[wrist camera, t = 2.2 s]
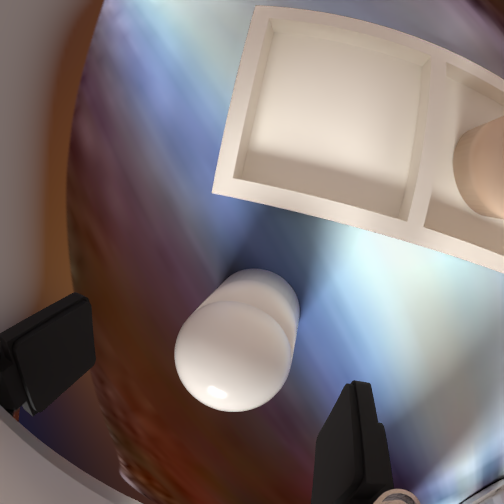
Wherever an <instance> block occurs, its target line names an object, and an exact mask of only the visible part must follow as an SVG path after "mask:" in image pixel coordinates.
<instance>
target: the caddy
mask: <svg viewBox="0 0 504 504" xmlns="http://www.w3.org/2000/svg"><path fill="white" fill-rule="evenodd" d="M502 116H504V79H502V78H500V77H499V76H497V75H495V74H494V73H492V72H490V71H489V70H487V69H485V68H483V67H481V66H480V65H478V64H476V63H474V62H472V61H470V60H468V59H466V58H464V57H462V56H460V55H458V54H456V53H454V52H452V51H449V50H447V49H445V48H443V47H440V46H438V45H436V44H433V43H431V42H428V41H426V40H423V39H420V38H418V37H415V36H412V35H409V34H407V33H404V32H401V31H398V30H395V29H391V28H388V27H385V26H381V25H378V24H374V23H370V22H367V21H363V20H359V19H354V18H350V17H345V16H340V15H335V14H330V13H324V12H318V11H312V10H305V9H296V8H287V7H276V6H259V5H256V6H255V9H254V13H253V16H252V20H251V23H250V27H249V30H248V34H247V38H246V42H245V45H244V49H243V53H242V57H241V61H240V65H239V69H238V73H237V77H236V81H235V85H234V89H233V94H232V98H231V102H230V107H229V111H228V116H227V120H226V125H225V129H224V134H223V139H222V143H221V148H220V153H219V158H218V163H217V168H216V173H215V178H214V183H213V189H212V193H215V194H219V195H224V196H229V197H234V198H238V199H243V200H247V201H252V202H256V203H261V204H265V205H270V206H274V207H278V208H282V209H287V210H291V211H295V212H299V213H303V214H307V215H311V216H315V217H319V218H323V219H327V220H331V221H335V222H338V223H342V224H346V225H350V226H353V227H357V228H361V229H364V230H368V231H372V232H375V233H379V234H382V235H386V236H389V237H393V238H396V239H400V240H403V241H406V242H410V243H413V244H416V245H420V246H423V247H426V248H429V249H432V250H436V251H439V252H442V253H445V254H448V255H451V256H454V257H457V258H460V259H463V260H466V261H469V262H472V263H475V264H478V265H481V266H484V267H487V268H490V269H492V270H495V271H498V272H501V273H504V220H503V219H497V218H491V217H486V216H482V215H480V214H478V213H476V212H474V211H473V210H472V209H471V208H470V207H469V206H468V205H467V204H466V203H465V201H464V200H463V198H462V196H461V195H460V193H459V190H458V188H457V185H456V182H455V178H454V172H453V155H454V150H455V147H456V144H457V142H458V140H459V138H460V137H461V136H462V135H463V134H464V133H465V132H466V131H468V130H470V129H472V128H475V127H477V126H479V125H482V124H484V123H487V122H489V121H492V120H494V119H497V118H499V117H502Z"/></svg>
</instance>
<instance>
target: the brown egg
mask: <svg viewBox="0 0 504 504" xmlns="http://www.w3.org/2000/svg"><path fill="white" fill-rule="evenodd" d="M453 172H454V178H455V182H456V185H457V188H458V190H459V193H460V195H461V196H462V198H463V200H464V201H465V203H466V204H467V205H468V206H469V207H470V208H471V209H472V210H473V211H474V212H476V213H478V214H480V215H482V216H486V217H491V218H497V219H503V220H504V116H502V117H499V118H497V119H494V120H492V121H489V122H487V123H484V124H482V125H479V126H477V127H475V128H472V129H470V130H468V131H466V132H465V133H464V134H463V135H462V136H461V137H460V138H459V140H458V142H457V144H456V147H455V150H454V155H453Z"/></svg>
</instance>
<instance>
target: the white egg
mask: <svg viewBox="0 0 504 504" xmlns="http://www.w3.org/2000/svg"><path fill="white" fill-rule="evenodd" d="M299 317H300V305H299V301H298V298H297V295H296V293H295V291H294V290H293V288H292V287H291V286H290V284H289V283H288V282H287V281H286V280H284V279H283V278H282V277H280V276H279V275H277V274H275V273H273V272H271V271H268V270H264V269H256V268H253V269H245V270H241V271H238V272H236V273H234V274H232V275H231V276H229V277H228V278H227V279H226V280H225V281H224V282H223V283H222V284H221V285H220V286H219V287H218V288H217V289H216V290H215V291H214V292H213V293H212V294H211V295H210V296H209V297H208V298H207V299H206V300H205V301H204V302H203V303H202V304H201V305H200V306H199V307H198V308H197V309H196V310H195V311H194V312H193V313H192V315H191V316H190V317H189V318H188V319H187V320H186V322H185V323H184V324H183V326H182V328H181V330H180V332H179V334H178V337H177V340H176V345H175V364H176V368H177V372H178V375H179V377H180V379H181V381H182V383H183V384H184V386H185V387H186V389H187V390H188V391H189V392H190V393H191V395H193V396H194V397H195V398H196V399H197V400H199V401H200V402H202V403H203V404H205V405H207V406H209V407H212V408H214V409H217V410H221V411H228V412H239V411H246V410H250V409H253V408H256V407H258V406H260V405H262V404H264V403H266V402H267V401H269V400H270V399H271V398H273V397H274V395H275V394H276V393H277V392H278V391H279V390H280V389H281V387H282V386H283V384H284V383H285V381H286V379H287V377H288V374H289V371H290V367H291V362H292V357H293V351H294V346H295V340H296V334H297V329H298V323H299Z"/></svg>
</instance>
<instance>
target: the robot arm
mask: <svg viewBox="0 0 504 504" xmlns="http://www.w3.org/2000/svg"><path fill="white" fill-rule="evenodd" d="M95 360H96V356H95V347H94V337H93V325H92V309H91V304H90V303H89V300H88V298H87V297H85V296H83V295H80V294H78V293H72V294H70V295H68V296H66V297H65V298H63V299H61V300H59V301H57V302H55V303H54V304H52V305H50V306H48V307H46V308H44V309H42V310H41V311H39V312H37V313H35V314H33V315H32V316H30V317H28V318H26V319H25V320H23V321H21V322H19V323H17V324H16V325H14V326H12V327H11V328H9V329H7V330H6V331H4V332H2V333H0V504H143V503H140V502H138V501H136V500H134V499H132V498H130V497H128V496H125V495H124V494H122V493H120V492H118V491H116V490H114V489H113V488H111V487H109V486H107V485H105V484H104V483H102V482H100V481H98V480H97V479H95V478H93V477H92V476H90V475H88V474H87V473H85V472H84V471H82V470H81V469H79V468H77V467H76V466H74V465H73V464H71V463H70V462H69V461H67V460H66V459H64V458H63V457H61V456H60V455H58V454H57V453H56V452H54V451H53V450H52V449H50V448H49V447H48V446H46V445H45V444H44V443H43V442H41V441H40V440H39V439H38V438H36V437H35V436H34V435H33V434H31V433H30V432H29V431H28V430H27V429H26V428H24V427H23V426H22V425H21V424H20V423H19V422H18V421H19V420H18V419H19V409H20V408H19V407H20V406H21V405H23V407H24V409H25V410H26V411H27V412H28V413H30V414H31V415H32V416H34V415H35V414H37V413H38V412H42V411H43V410H45V409H46V408H47V407H48V406H49V405H50V404H51V403H52V402H53V401H54V400H55V399H57V398H58V397H59V396H60V395H61V394H62V393H63V392H64V391H66V390H67V389H68V388H69V387H70V386H71V385H72V384H73V383H74V382H76V381H77V380H78V379H79V378H80V377H81V376H82V375H83V374H85V373H86V372H87V371H88V370H89V369H90V368H91V367H92V366H93V365H94V364H95ZM311 504H420V502H419V500H418V499H417V497H416V496H415V495H413V494H412V493H411V492H409V491H406V490H403V489H394V485H393V478H392V471H391V464H390V457H389V451H388V445H387V440H386V434H385V429H384V426H383V424H382V423H378V419H377V414H376V408H375V403H374V398H373V393H372V388H371V384H370V383H367V382H361V381H355V380H354V381H352V382H351V384H346V385H345V386H344V388H343V390H342V392H341V394H340V396H339V398H338V400H337V402H336V404H335V406H334V407H333V409H332V411H331V413H330V415H329V417H328V418H327V420H326V422H325V424H324V426H323V427H322V429H321V431H320V433H319V435H318V437H317V441H316V452H315V465H314V477H313V488H312V498H311ZM462 504H504V479H502V480H500V481H498V482H496V483H494V484H492V485H491V486H489V487H487V488H485V489H484V490H482V491H480V492H479V493H477V494H475V495H474V496H472V497H471V498H469V499H467V500H466V501H464V502H463V503H462Z"/></svg>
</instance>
